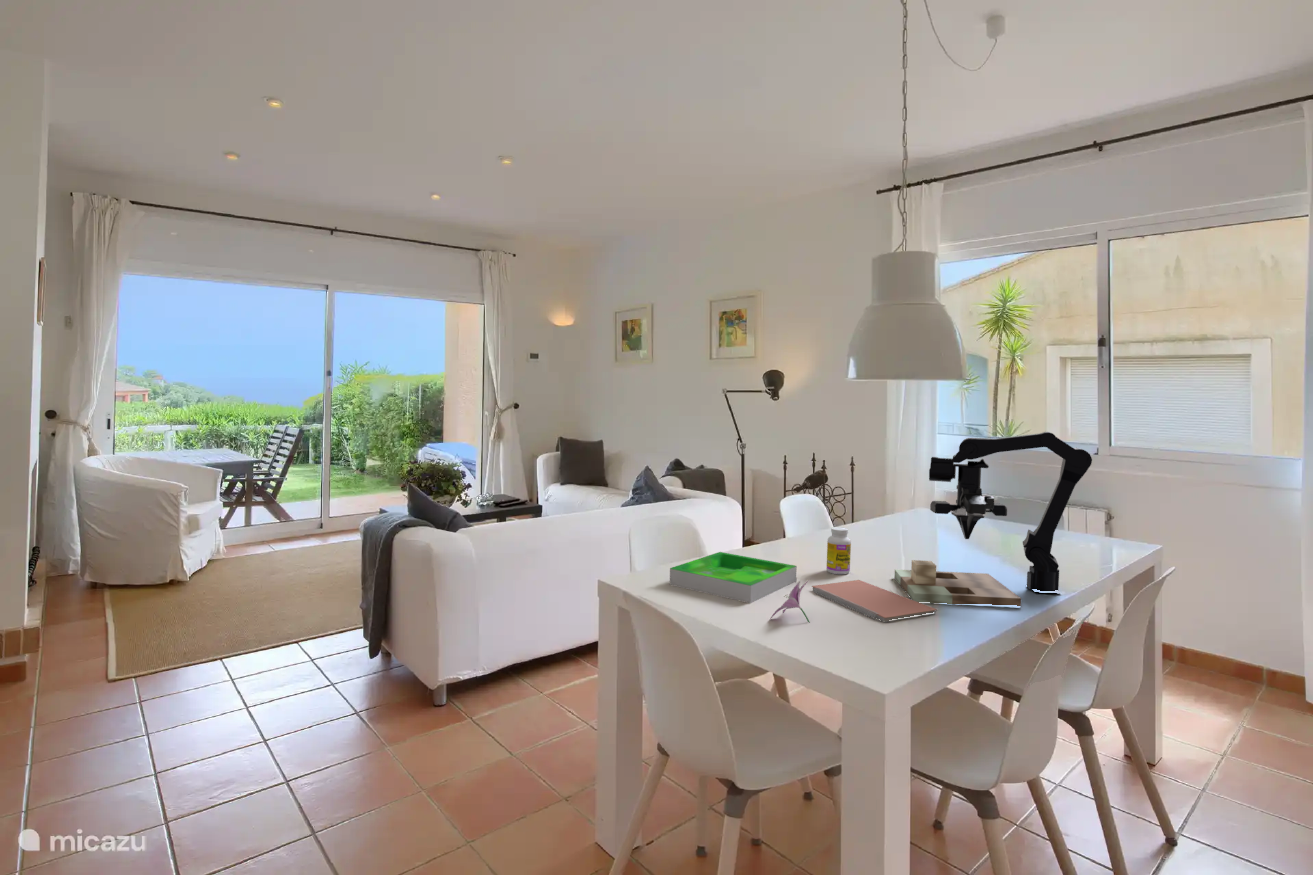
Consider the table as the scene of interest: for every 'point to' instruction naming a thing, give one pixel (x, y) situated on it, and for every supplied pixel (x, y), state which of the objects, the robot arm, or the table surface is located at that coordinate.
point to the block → (923, 572)
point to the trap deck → (958, 589)
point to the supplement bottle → (838, 551)
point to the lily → (792, 600)
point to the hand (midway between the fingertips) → (966, 538)
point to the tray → (733, 576)
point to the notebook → (871, 600)
